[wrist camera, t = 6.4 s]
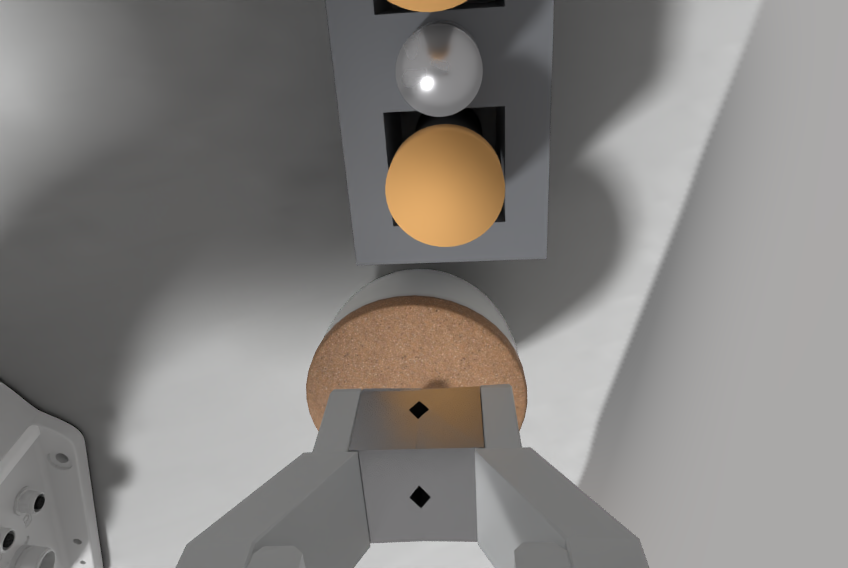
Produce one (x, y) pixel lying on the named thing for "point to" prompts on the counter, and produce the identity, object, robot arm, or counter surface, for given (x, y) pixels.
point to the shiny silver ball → (439, 69)
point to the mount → (493, 104)
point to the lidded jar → (416, 340)
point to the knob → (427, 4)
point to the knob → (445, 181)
